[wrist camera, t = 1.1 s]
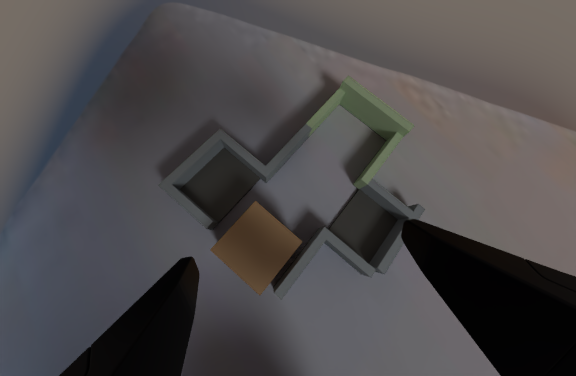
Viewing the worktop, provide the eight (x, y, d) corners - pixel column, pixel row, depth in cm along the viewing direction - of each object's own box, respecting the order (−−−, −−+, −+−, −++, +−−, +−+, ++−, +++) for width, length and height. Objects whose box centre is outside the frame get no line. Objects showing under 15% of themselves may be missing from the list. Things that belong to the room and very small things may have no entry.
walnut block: (261, 284, 19) (259, 295, 15) (221, 248, 19) (210, 249, 16) (295, 241, 20) (302, 241, 16) (257, 208, 21) (255, 200, 17)
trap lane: (329, 338, 18) (341, 356, 15) (166, 192, 20) (149, 183, 17) (437, 170, 24) (461, 161, 21) (301, 66, 25) (306, 43, 22)
